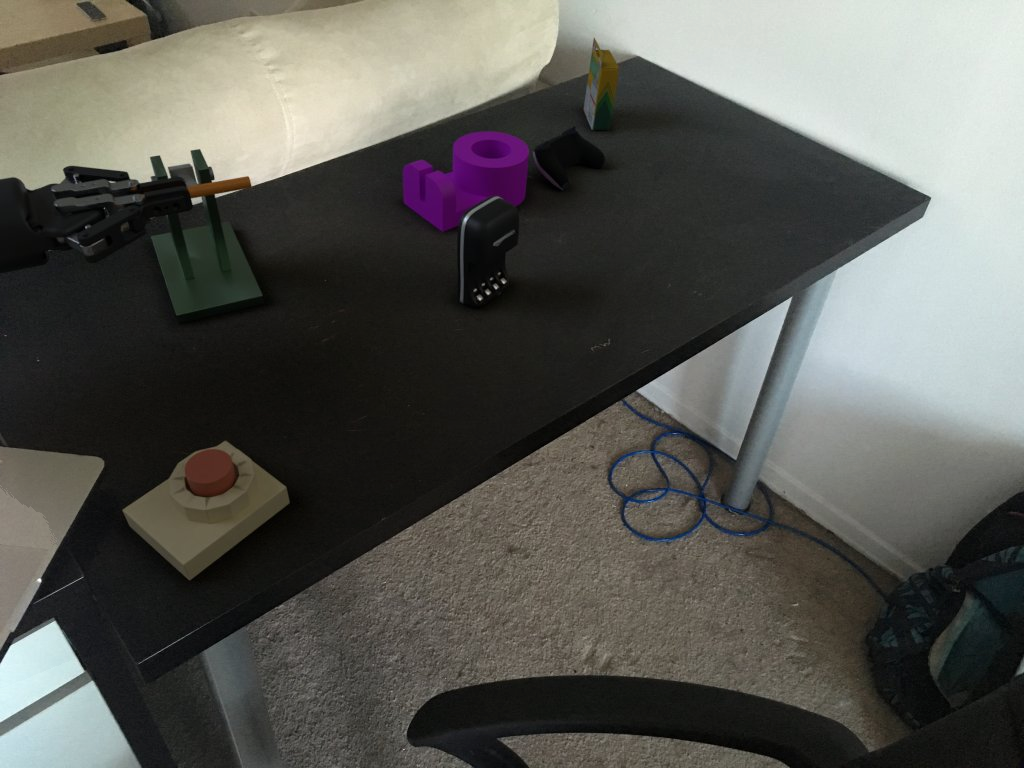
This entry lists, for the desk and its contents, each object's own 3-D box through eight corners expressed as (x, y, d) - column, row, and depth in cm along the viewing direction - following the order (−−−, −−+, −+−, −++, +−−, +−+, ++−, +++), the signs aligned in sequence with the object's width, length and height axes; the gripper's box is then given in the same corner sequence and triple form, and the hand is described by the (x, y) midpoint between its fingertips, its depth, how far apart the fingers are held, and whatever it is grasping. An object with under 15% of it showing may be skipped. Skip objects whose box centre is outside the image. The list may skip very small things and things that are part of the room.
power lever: (253, 195, 74) (247, 169, 73) (141, 216, 70) (133, 189, 69) (233, 179, 85) (227, 157, 84) (134, 197, 81) (127, 173, 80)
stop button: (208, 504, 62) (203, 490, 61) (180, 481, 64) (175, 467, 62) (245, 477, 64) (241, 464, 63) (217, 456, 66) (213, 442, 64)
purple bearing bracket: (493, 166, 112) (495, 124, 107) (540, 196, 106) (544, 154, 102) (400, 200, 103) (398, 156, 99) (446, 234, 98) (446, 189, 94)
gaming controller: (589, 174, 116) (566, 131, 115) (610, 161, 113) (586, 117, 112) (546, 200, 110) (520, 155, 109) (567, 188, 106) (540, 141, 105)
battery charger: (480, 316, 87) (484, 227, 79) (454, 302, 89) (455, 213, 81) (519, 288, 91) (526, 201, 83) (493, 275, 93) (498, 188, 85)
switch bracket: (264, 304, 86) (242, 192, 77) (178, 324, 83) (145, 209, 73) (230, 229, 96) (207, 122, 87) (153, 244, 93) (120, 135, 83)
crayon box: (610, 131, 122) (622, 55, 114) (591, 131, 122) (602, 55, 114) (601, 110, 127) (611, 36, 119) (583, 110, 127) (592, 36, 119)
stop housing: (189, 581, 61) (177, 551, 58) (129, 526, 64) (115, 495, 62) (290, 503, 67) (283, 472, 64) (230, 456, 70) (221, 425, 68)
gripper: (-46, 236, 59) (194, 192, 65) (-48, 153, 67) (165, 121, 74) (-6, 314, 64) (213, 266, 70) (-13, 228, 72) (183, 192, 79)
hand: (187, 192), depth 72 cm, fingers closed
